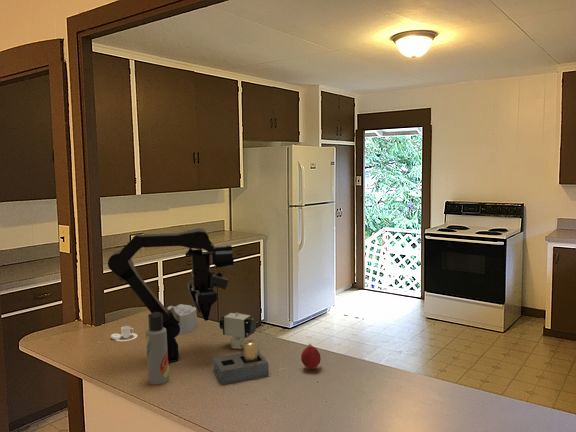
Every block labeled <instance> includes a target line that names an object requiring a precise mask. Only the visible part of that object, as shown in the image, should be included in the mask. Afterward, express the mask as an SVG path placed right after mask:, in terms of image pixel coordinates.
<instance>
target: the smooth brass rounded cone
mask: <svg viewBox="0 0 576 432" xmlns="http://www.w3.org/2000/svg"><path fill="white" fill-rule="evenodd" d="M243 346H244V347H243V353H244V364H246V363H251V362H257V361H258V359H257V351H258V341H257V340H255V339H248V340H247V339H246V341H244V342H243Z"/></svg>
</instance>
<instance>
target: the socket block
mask: <svg viewBox="0 0 576 432" xmlns="http://www.w3.org/2000/svg"><path fill="white" fill-rule="evenodd" d="M212 359H213V361H212V362H213V372H214V374H215V376H216V378H217V380H218V381H219V384H220V385H221V386H222V385H228V384H234V383H239V382H245V381H250V380H255V379H260V378H265V377H269V372H270V371H269V362H268V360H267V359H266V358H265V357H264V355H262V353H261V352H260V351H259V350H257V359H258V361H257V362H251V363H246V364H244V352H242V353H236V354H235V353H234V354H231V355H230V354H228V355H222V356H218V357H213V358H212Z"/></svg>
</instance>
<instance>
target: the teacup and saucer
mask: <svg viewBox="0 0 576 432" xmlns="http://www.w3.org/2000/svg"><path fill="white" fill-rule="evenodd" d="M120 330H121V333H112V334H110V338H111V339H112V340H114V341H115V342H116V341H117V342H129V341H133V340H135V339H136V338H137V337H138V334H137V333H134V328H133V327H131V326H130V325H125V326H121V328H120ZM131 330H132V332H131ZM131 336H133V337H132V338H130V337H131ZM122 338H123V339H122ZM128 338H130V339H128Z"/></svg>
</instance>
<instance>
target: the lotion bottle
mask: <svg viewBox="0 0 576 432" xmlns="http://www.w3.org/2000/svg"><path fill="white" fill-rule="evenodd" d="M147 318H148V319H147V320H148V329H146V330H145V343H146V358H147V360H146V361H147V372H148V373H147V374H148V382H149V384H151V385H154V386H155V385H157V386H158V385H163V384H165V383H167V382H169V380H170V372H169V362H168V350H167V332H166V328H164V327H163V321H162V314H161V313H160V312H154V313H151V312H150V313H148V315H147Z"/></svg>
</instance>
